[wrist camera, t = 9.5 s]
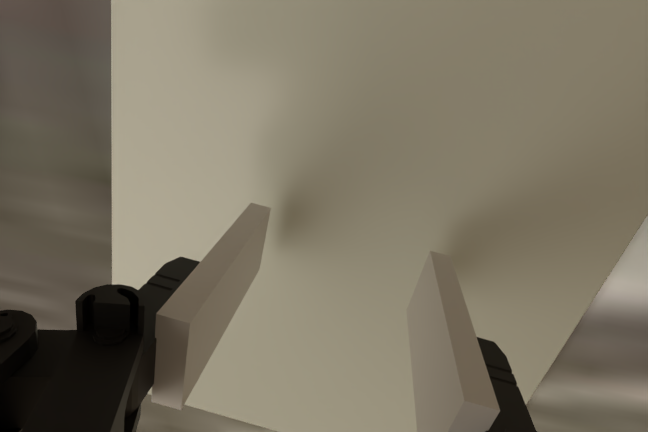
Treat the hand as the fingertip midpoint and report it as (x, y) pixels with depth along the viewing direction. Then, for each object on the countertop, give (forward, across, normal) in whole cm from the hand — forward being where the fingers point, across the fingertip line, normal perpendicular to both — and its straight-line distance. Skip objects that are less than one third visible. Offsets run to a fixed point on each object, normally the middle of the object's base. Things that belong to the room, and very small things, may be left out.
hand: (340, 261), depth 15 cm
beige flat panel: (+3, 0, 0) cm, 3 cm away
